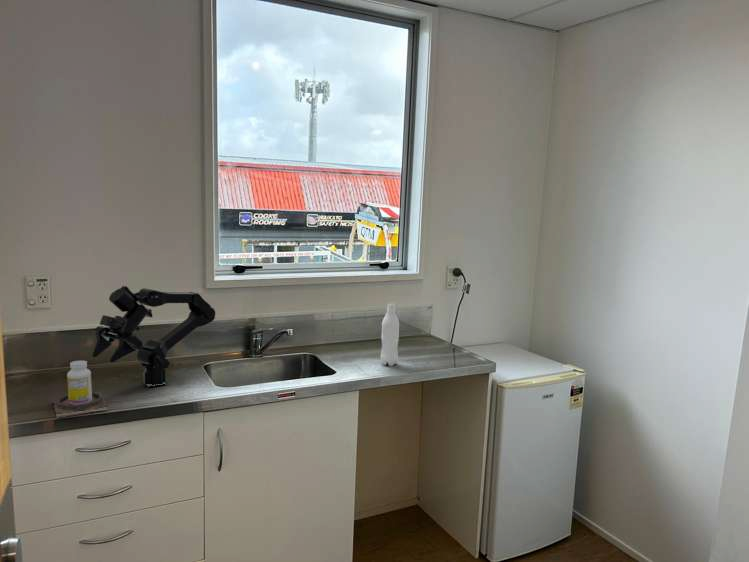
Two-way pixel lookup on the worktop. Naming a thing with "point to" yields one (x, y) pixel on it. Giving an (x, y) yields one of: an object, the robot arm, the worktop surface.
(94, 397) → the locating board
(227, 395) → the worktop surface
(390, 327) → the water bottle
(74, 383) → the supplement bottle
